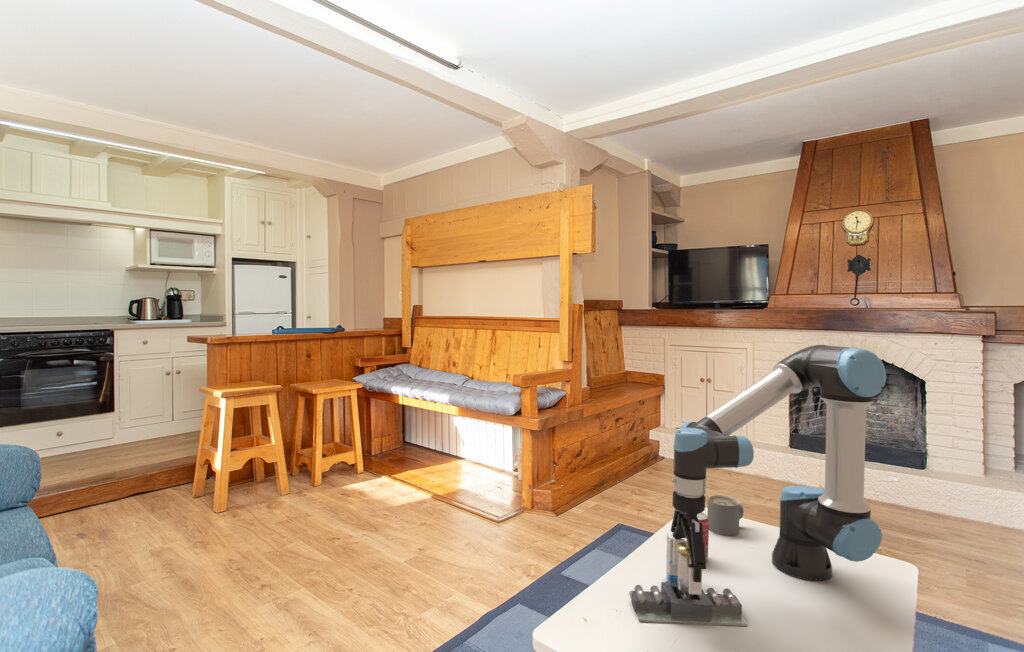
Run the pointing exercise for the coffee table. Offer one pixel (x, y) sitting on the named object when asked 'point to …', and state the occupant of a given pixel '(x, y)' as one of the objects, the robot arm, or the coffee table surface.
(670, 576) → the ink box
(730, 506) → the coffee mug
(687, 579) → the pin
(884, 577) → the coffee table surface
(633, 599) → the grey board with brackets
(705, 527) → the soda can
